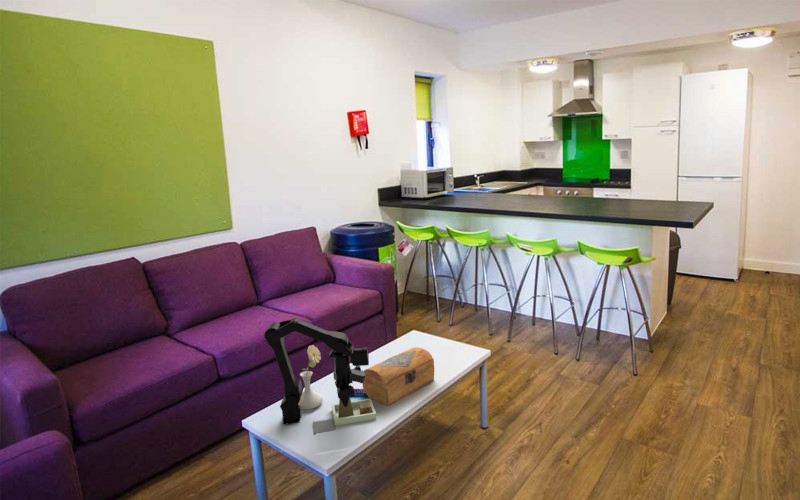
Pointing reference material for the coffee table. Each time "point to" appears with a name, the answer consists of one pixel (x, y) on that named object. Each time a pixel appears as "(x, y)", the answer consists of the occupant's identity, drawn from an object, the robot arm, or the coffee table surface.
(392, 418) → the coffee table surface
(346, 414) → the cork
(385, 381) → the wooden box
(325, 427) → the pad
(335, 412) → the tray
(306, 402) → the flower in vase
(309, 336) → the robot arm
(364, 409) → the walnut block
